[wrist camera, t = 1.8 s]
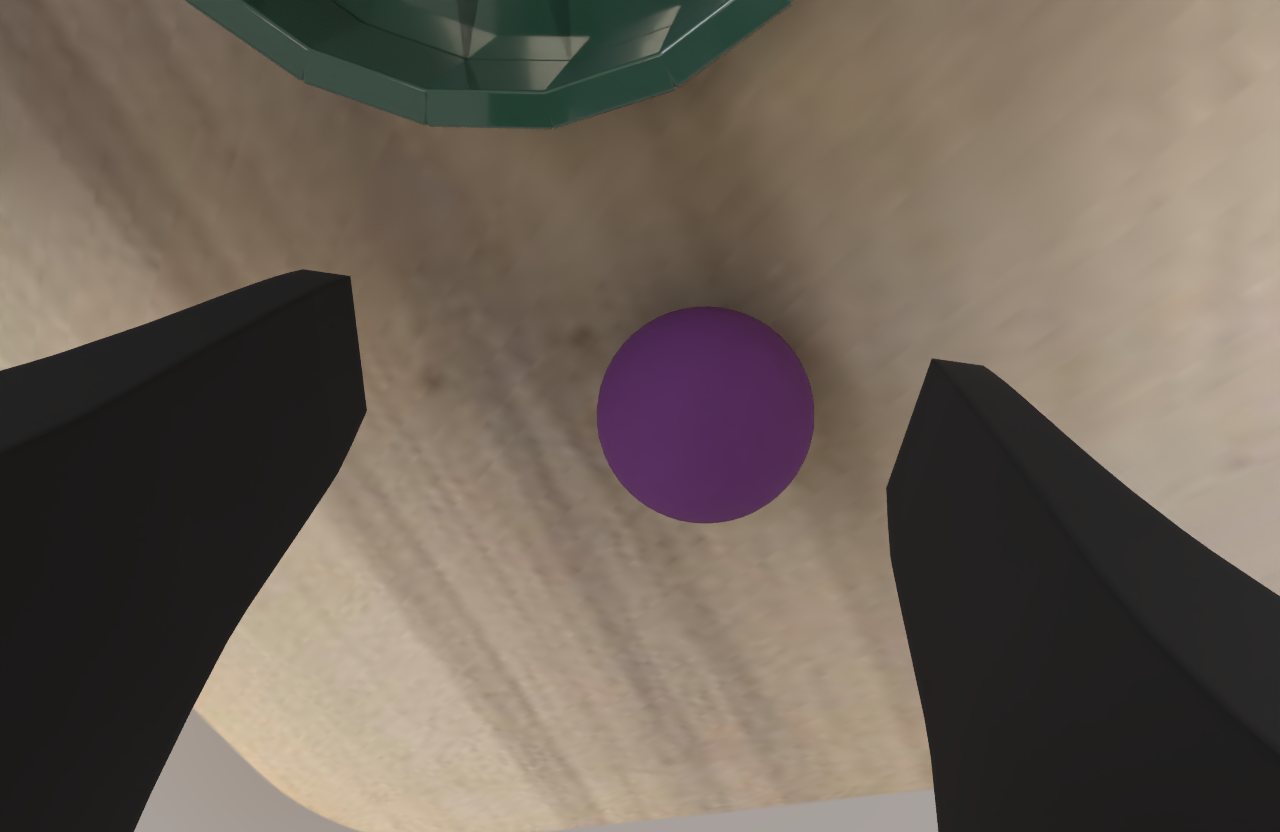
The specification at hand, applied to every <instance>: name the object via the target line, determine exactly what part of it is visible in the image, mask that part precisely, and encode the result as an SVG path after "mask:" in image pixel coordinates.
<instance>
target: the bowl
mask: <svg viewBox="0 0 1280 832" xmlns="http://www.w3.org/2000/svg"><path fill="white" fill-rule="evenodd" d="M184 1H186V2H187V3H189V4H190V5H192V6H193V7H194V8H196V9H197V10H199V11H200V12H202V13H203V14H205V15H206V16H207V17H209V18H210V19H212V20H213V21H215V22H216V23H218V24H219V25H220V26H222V27H223V28H225V29H226V30H228V31H229V32H231V33H232V34H233V35H235V36H236V37H238V38H239V39H241V40H242V41H244V42H245V43H246V44H248V45H249V46H251V47H252V48H254V49H255V50H257V51H258V52H259V53H261V54H262V55H264V56H265V57H267V58H268V59H270V60H271V61H272V62H274V63H275V64H277V65H278V66H280V67H281V68H283V69H284V70H285V71H287V72H288V73H290V74H291V75H293V76H294V77H296V78H297V79H299V80H302V81H304V83H306V84H308V85H311V86H314V87H317V88H320V89H322V90H325V91H328V92H331V93H334V94H337V95H340V96H342V97H345V98H348V99H351V100H354V101H357V102H360V103H363V104H365V105H368V106H371V107H374V108H377V109H380V110H383V111H385V112H388V113H391V114H394V115H397V116H400V117H403V118H406V119H408V120H411V121H414V122H417V123H420V124H423V125H427V124H428V126H431V127H471V128H513V129H552V128H559V127H562V126H565V125H568V124H571V123H574V122H577V121H581V120H584V119H587V118H590V117H593V116H596V115H599V114H602V113H606V112H609V111H612V110H615V109H618V108H621V107H624V106H627V105H630V104H634V103H637V102H640V101H643V100H646V99H649V98H652V97H655V96H659V95H662V94H665V93H668V92H671V91H673V90H674V89H675V87H681V86H682V85H683V84H685V83H686V82H687V81H689V80H690V79H691V78H693V77H694V76H696V75H697V74H698V73H700V72H701V71H702V70H704V69H705V68H706V67H708V66H709V65H710V64H712V63H713V62H715V61H716V60H717V59H719V58H720V57H721V56H723V55H724V54H725V53H727V52H728V51H730V50H731V49H732V48H734V47H735V46H736V45H738V44H739V43H740V42H742V41H743V40H744V39H746V38H747V37H749V36H750V35H751V34H753V33H754V32H755V31H757V30H758V29H759V28H761V27H762V26H764V25H765V24H766V23H768V22H769V21H770V20H772V19H773V18H774V17H776V16H777V15H778V14H780V13H781V12H783V11H784V10H785V9H787V8H788V7H789V6H791V4H792V2H793V0H184Z"/></svg>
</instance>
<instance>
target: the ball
mask: <svg viewBox="0 0 1280 832" xmlns="http://www.w3.org/2000/svg"><path fill="white" fill-rule="evenodd" d="M597 426H598V433H599V439H600V442H601V445H602V449H603V452H604V455H605V457H606V459H607V461H608V464H609V466H610V467H611V469H612V471H613V472H614V474H615V475H616V477H617V478H618V480H619V481H620V483H621V484H622V485H623V486H624V487H625V488H626V489H627V490H628V491H629V492H630V493H631V494H632V495H633V496H634V497H635V498H636V499H638V500H639V501H640V502H641V503H643V504H644V505H646V506H647V507H649V508H651V509H652V510H654V511H656V512H658V513H661V514H663V515H665V516H668V517H671V518H674V519H677V520H681V521H686V522H692V523H718V522H725V521H730V520H734V519H738V518H741V517H744V516H746V515H749V514H751V513H753V512H755V511H757V510H758V509H760V508H762V507H764V506H765V505H767V504H768V503H770V502H771V501H772V500H774V499H775V498H776V497H777V496H778V495H779V494H780V493H781V492H782V491H783V490H784V489H785V488H786V487H787V486H788V485H789V484H790V483H791V481H792V480H793V479H794V477H795V476H796V475H797V473H798V471H799V469H800V467H801V465H802V464H803V462H804V460H805V458H806V455H807V452H808V450H809V447H810V443H811V439H812V434H813V429H814V403H813V396H812V391H811V387H810V384H809V380H808V377H807V375H806V373H805V371H804V369H803V367H802V364H801V363H800V361H799V359H798V357H797V356H796V354H795V353H794V351H793V350H792V348H791V347H790V346H789V345H788V344H787V343H786V342H785V341H784V340H783V339H782V338H781V337H780V336H779V335H778V334H777V333H776V332H775V331H773V330H772V329H771V328H770V327H768V326H767V325H765V324H764V323H762V322H760V321H759V320H757V319H755V318H753V317H750V316H748V315H746V314H743V313H740V312H737V311H734V310H730V309H725V308H718V307H694V308H687V309H681V310H678V311H674V312H671V313H668V314H665V315H663V316H660V317H658V318H656V319H654V320H653V321H651V322H649V323H648V324H646V325H645V326H643V327H642V328H641V329H639V330H638V331H637V332H635V333H634V334H633V335H632V336H631V337H630V338H629V339H628V340H627V341H626V342H625V343H624V344H623V345H622V347H621V348H620V349H619V351H618V352H617V353H616V355H615V356H614V358H613V359H612V361H611V363H610V365H609V367H608V369H607V371H606V373H605V375H604V378H603V381H602V384H601V387H600V392H599V398H598V405H597Z"/></svg>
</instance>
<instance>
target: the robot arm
mask: <svg viewBox="0 0 1280 832" xmlns="http://www.w3.org/2000/svg"><path fill="white" fill-rule="evenodd" d="M366 411H367V408H366V400H365V392H364V384H363V376H362V368H361V360H360V352H359V343H358V335H357V327H356V319H355V311H354V303H353V295H352V286H351V278H350V276H346V275H338V274H331V273H324V272H317V271H310V270H299V271H294V272H290V273H286V274H282V275H279V276H276V277H273V278H269V279H266V280H263V281H260V282H258V283H255V284H252V285H249V286H246V287H244V288H241V289H238V290H235V291H233V292H230V293H227V294H225V295H222V296H219V297H217V298H214V299H211V300H209V301H206V302H203V303H201V304H198V305H195V306H193V307H190V308H187V309H185V310H182V311H179V312H177V313H174V314H171V315H169V316H166V317H163V318H161V319H158V320H155V321H153V322H150V323H147V324H144V325H141V326H138V327H135V328H133V329H130V330H127V331H124V332H121V333H118V334H115V335H112V336H109V337H106V338H103V339H100V340H97V341H94V342H91V343H88V344H85V345H83V346H80V347H77V348H74V349H71V350H68V351H65V352H62V353H59V354H56V355H53V356H49V357H46V358H43V359H40V360H36V361H33V362H30V363H26V364H23V365H19V366H16V367H12V368H9V369H5V370H2V371H0V832H134V830H135V828H136V825H137V823H138V821H139V819H140V816H141V814H142V812H143V810H144V808H145V805H146V803H147V801H148V799H149V796H150V794H151V792H152V790H153V788H154V786H155V784H156V782H157V780H158V778H159V776H160V773H161V771H162V769H163V767H164V765H165V763H166V761H167V759H168V757H169V755H170V753H171V751H172V749H173V746H174V745H175V743H176V740H177V738H178V736H179V734H180V732H181V730H182V728H183V726H184V724H185V722H186V720H187V718H188V716H189V714H190V712H191V710H192V708H193V706H194V704H195V702H196V700H197V698H198V697H199V695H200V693H201V691H202V689H203V687H204V685H205V683H206V681H207V679H208V677H209V676H210V674H211V672H212V670H213V668H214V666H215V664H216V662H217V660H218V658H219V656H220V654H221V653H222V651H223V649H224V647H225V645H226V643H227V641H228V640H229V638H230V636H231V635H232V633H233V631H234V630H235V628H236V626H237V625H238V623H239V621H240V620H241V618H242V617H243V615H244V613H245V612H246V610H247V608H248V607H249V605H250V604H251V602H252V601H253V599H254V598H255V597H256V595H257V594H258V592H259V591H260V589H261V588H262V586H263V585H264V583H265V582H266V580H267V579H268V577H269V576H270V574H271V573H272V571H273V570H274V568H275V567H276V565H277V564H278V562H279V561H280V559H281V558H282V557H283V555H284V554H285V552H286V551H287V549H288V548H289V546H290V545H291V543H292V542H293V540H294V539H295V537H296V536H297V534H298V533H299V531H300V530H301V528H302V527H303V525H304V524H305V522H306V521H307V520H308V518H309V516H310V515H311V513H312V512H313V510H314V509H315V507H316V506H317V504H318V503H319V501H320V500H321V498H322V497H323V495H324V494H325V492H326V491H327V489H328V488H329V486H330V485H331V483H332V481H333V480H334V478H335V477H336V475H337V474H338V472H339V470H340V468H341V466H342V464H343V462H344V460H345V457H346V455H347V453H348V451H349V449H350V447H351V445H352V443H353V441H354V438H355V436H356V434H357V432H358V429H359V427H360V425H361V423H362V420H363V418H364V416H365V414H366ZM886 490H887V511H888V530H889V543H890V556H891V562H892V567H893V572H894V577H895V582H896V587H897V592H898V597H899V601H900V606H901V611H902V616H903V621H904V625H905V630H906V634H907V639H908V644H909V648H910V653H911V658H912V662H913V667H914V672H915V676H916V681H917V685H918V690H919V695H920V699H921V704H922V709H923V713H924V718H925V724H926V730H927V736H928V742H929V748H930V754H931V763H932V773H933V783H934V792H935V802H936V812H937V822H938V832H1280V596H1279V595H1277V594H1275V593H1274V592H1272V591H1271V590H1269V589H1268V588H1266V587H1265V586H1263V585H1262V584H1260V583H1259V582H1257V581H1256V580H1254V579H1253V578H1251V577H1250V576H1248V575H1247V574H1245V573H1244V572H1243V571H1241V570H1240V569H1238V568H1237V567H1235V566H1234V565H1232V564H1231V563H1229V562H1228V561H1226V560H1225V559H1223V558H1222V557H1220V556H1219V555H1217V554H1216V553H1214V552H1213V551H1211V550H1210V549H1208V548H1207V547H1206V546H1204V545H1203V544H1201V543H1200V542H1199V541H1197V540H1196V539H1194V538H1193V537H1192V536H1190V535H1189V534H1188V533H1186V532H1185V531H1183V530H1182V529H1181V528H1179V527H1178V526H1177V525H1176V524H1174V523H1173V522H1172V521H1170V520H1169V519H1168V518H1166V517H1165V516H1164V515H1163V514H1161V513H1160V512H1159V511H1157V510H1156V509H1155V508H1154V507H1152V506H1151V505H1150V504H1148V503H1147V502H1146V501H1144V500H1143V499H1142V498H1141V497H1139V496H1138V495H1137V494H1135V493H1134V492H1133V491H1132V490H1130V489H1129V488H1128V487H1127V486H1126V485H1124V484H1123V483H1122V482H1121V481H1119V480H1118V479H1117V478H1116V477H1115V476H1113V475H1112V474H1111V473H1110V472H1108V471H1107V470H1106V469H1105V468H1104V467H1103V466H1101V465H1100V464H1099V463H1098V462H1097V461H1095V460H1094V459H1093V458H1092V457H1091V456H1090V455H1088V454H1087V453H1086V452H1085V451H1084V450H1083V449H1081V448H1080V447H1079V446H1078V445H1077V444H1076V443H1074V442H1073V441H1072V440H1071V439H1070V438H1069V437H1068V436H1066V435H1065V434H1064V433H1063V432H1062V431H1061V430H1060V429H1058V428H1057V427H1056V426H1055V425H1054V424H1053V423H1052V422H1051V421H1049V420H1048V419H1047V418H1046V417H1045V416H1044V415H1043V414H1041V413H1040V412H1039V411H1038V410H1037V409H1036V408H1035V407H1034V406H1032V405H1031V404H1030V403H1029V402H1028V401H1027V400H1026V399H1024V398H1023V397H1022V396H1021V395H1020V394H1019V393H1017V392H1016V391H1015V390H1014V389H1013V388H1012V387H1010V386H1009V385H1008V384H1007V383H1006V382H1004V381H1003V380H1002V379H1001V378H999V377H998V376H997V375H996V374H994V373H993V372H991V371H990V370H989V369H987V368H986V367H984V366H981V365H974V364H967V363H960V362H953V361H946V360H939V359H932V360H931V363H930V365H929V368H928V371H927V374H926V377H925V380H924V383H923V385H922V388H921V391H920V394H919V397H918V400H917V402H916V405H915V408H914V411H913V414H912V417H911V420H910V422H909V425H908V428H907V431H906V434H905V437H904V439H903V442H902V445H901V448H900V451H899V454H898V457H897V459H896V462H895V465H894V468H893V471H892V474H891V476H890V479H889V482H888V485H887V488H886Z"/></svg>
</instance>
